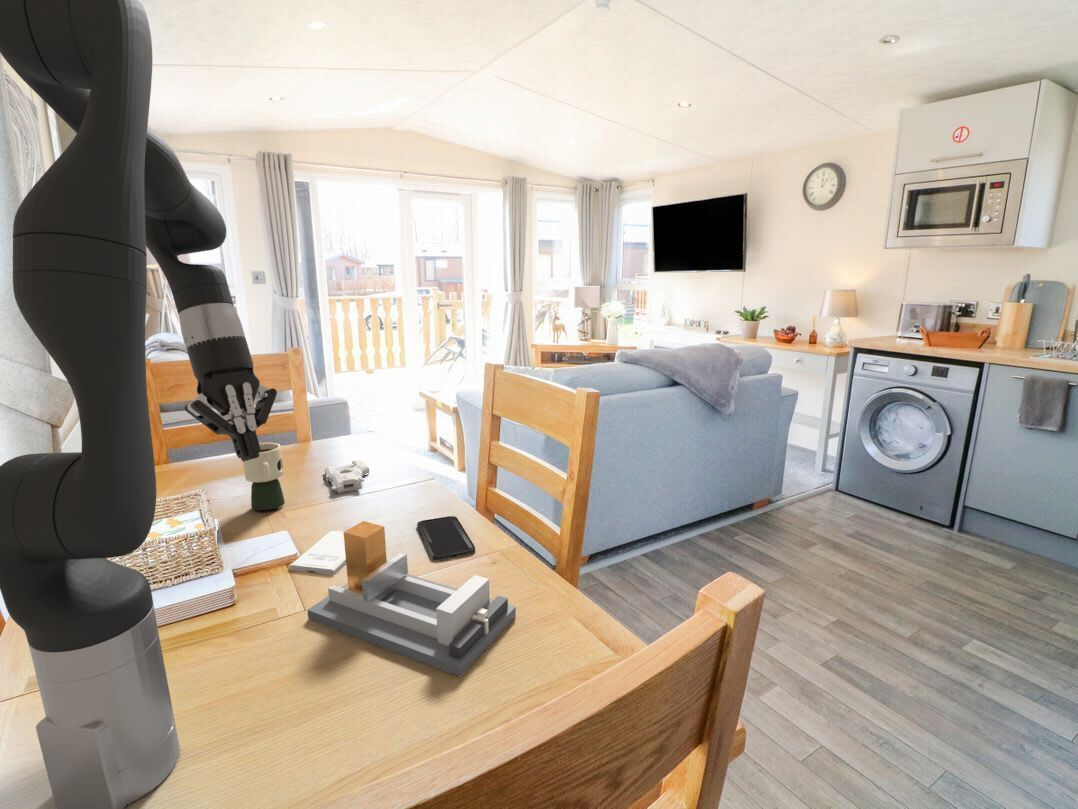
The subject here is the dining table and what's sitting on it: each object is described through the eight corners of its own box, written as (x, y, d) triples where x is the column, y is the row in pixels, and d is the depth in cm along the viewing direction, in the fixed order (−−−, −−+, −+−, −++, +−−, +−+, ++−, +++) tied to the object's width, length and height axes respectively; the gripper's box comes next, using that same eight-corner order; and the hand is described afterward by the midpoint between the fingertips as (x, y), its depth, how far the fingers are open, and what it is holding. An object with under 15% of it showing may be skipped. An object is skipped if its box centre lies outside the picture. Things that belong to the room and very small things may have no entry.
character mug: (291, 513, 115) (284, 452, 112) (252, 521, 112) (244, 458, 108) (283, 494, 124) (276, 438, 121) (246, 501, 121) (239, 443, 117)
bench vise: (308, 619, 81) (303, 578, 79) (376, 572, 93) (373, 536, 92) (460, 677, 70) (459, 630, 68) (515, 615, 82) (515, 575, 80)
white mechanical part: (378, 475, 127) (331, 483, 122) (379, 489, 127) (333, 498, 123) (361, 455, 143) (319, 462, 138) (363, 468, 143) (321, 475, 139)
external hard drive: (371, 542, 104) (334, 578, 93) (330, 538, 106) (289, 572, 94) (370, 534, 104) (333, 569, 92) (329, 530, 106) (288, 563, 94)
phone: (455, 515, 113) (476, 549, 99) (455, 520, 113) (476, 555, 100) (415, 521, 110) (431, 557, 96) (415, 526, 110) (432, 563, 97)
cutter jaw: (332, 601, 82) (326, 536, 80) (373, 573, 89) (368, 514, 87) (369, 614, 79) (364, 547, 77) (408, 584, 86) (405, 523, 84)
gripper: (181, 337, 72) (220, 467, 73) (273, 331, 84) (306, 444, 84) (152, 352, 76) (190, 476, 77) (244, 344, 88) (276, 452, 88)
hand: (251, 459), depth 81 cm, fingers closed
